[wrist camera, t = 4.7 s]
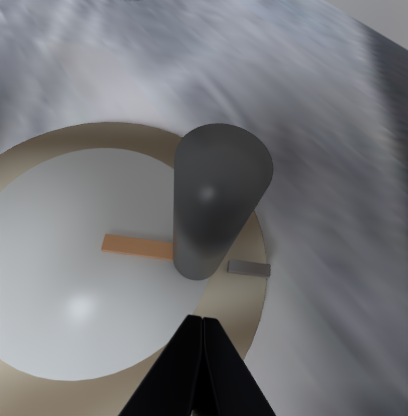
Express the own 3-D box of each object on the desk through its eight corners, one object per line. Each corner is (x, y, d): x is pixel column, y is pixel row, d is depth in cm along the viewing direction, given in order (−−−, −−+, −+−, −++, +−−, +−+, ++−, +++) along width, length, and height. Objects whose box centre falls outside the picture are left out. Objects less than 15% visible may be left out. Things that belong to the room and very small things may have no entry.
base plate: (322, 351, 14) (341, 352, 13) (-88, 574, 10) (-140, 620, 8) (194, 107, 21) (196, 87, 19) (-85, 170, 16) (-113, 151, 15)
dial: (206, 393, 12) (275, 493, 4) (-77, 361, 11) (-648, 401, 3) (225, 174, 17) (272, 28, 9) (31, 145, 17) (-97, -38, 9)
